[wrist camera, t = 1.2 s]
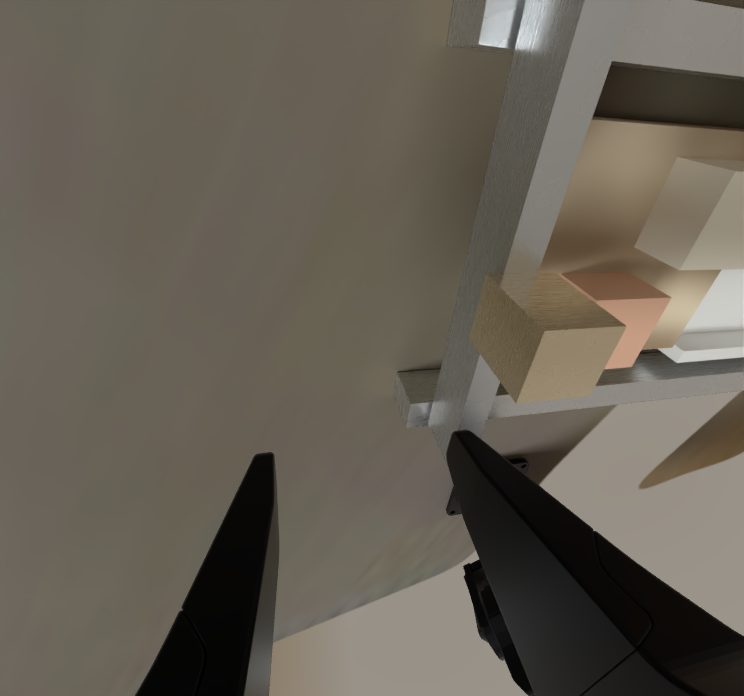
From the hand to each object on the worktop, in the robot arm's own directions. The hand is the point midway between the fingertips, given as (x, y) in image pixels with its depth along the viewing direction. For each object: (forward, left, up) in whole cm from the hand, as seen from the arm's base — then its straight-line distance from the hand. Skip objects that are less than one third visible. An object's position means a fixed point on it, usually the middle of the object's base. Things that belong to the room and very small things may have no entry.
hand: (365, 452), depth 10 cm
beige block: (+3, -19, -11) cm, 23 cm away
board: (0, -17, -13) cm, 21 cm away
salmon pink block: (-3, -15, -11) cm, 19 cm away
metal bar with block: (0, -7, -10) cm, 12 cm away
